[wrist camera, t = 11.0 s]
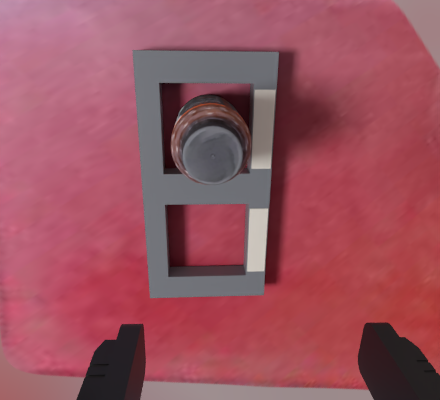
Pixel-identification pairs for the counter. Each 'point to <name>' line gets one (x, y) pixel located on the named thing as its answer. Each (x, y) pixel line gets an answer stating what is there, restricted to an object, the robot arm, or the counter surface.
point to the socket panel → (199, 193)
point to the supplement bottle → (210, 141)
